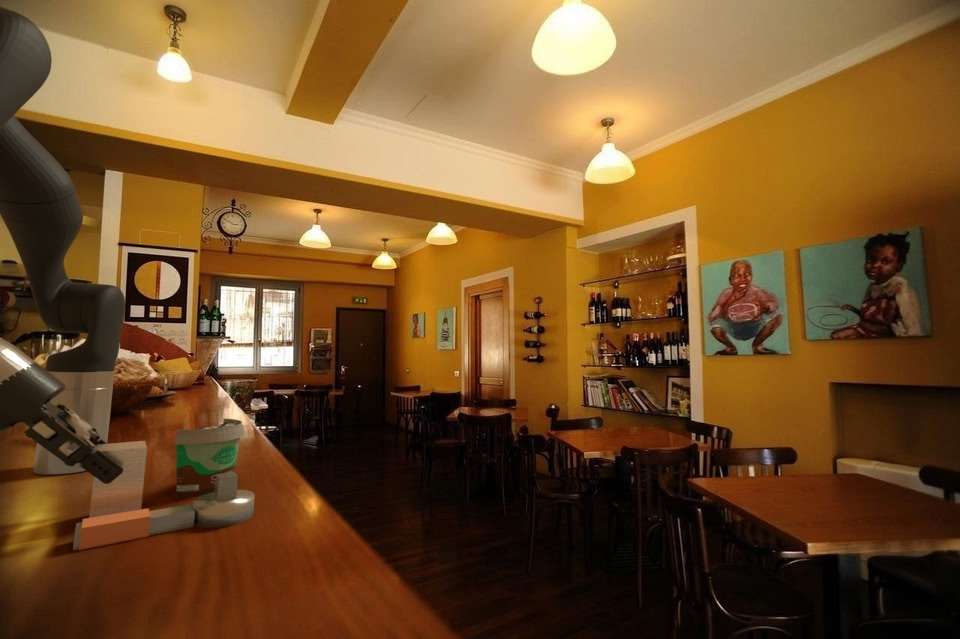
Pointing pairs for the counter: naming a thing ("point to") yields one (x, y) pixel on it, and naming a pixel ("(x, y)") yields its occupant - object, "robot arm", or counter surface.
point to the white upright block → (120, 480)
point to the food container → (206, 456)
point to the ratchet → (170, 516)
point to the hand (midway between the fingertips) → (116, 469)
